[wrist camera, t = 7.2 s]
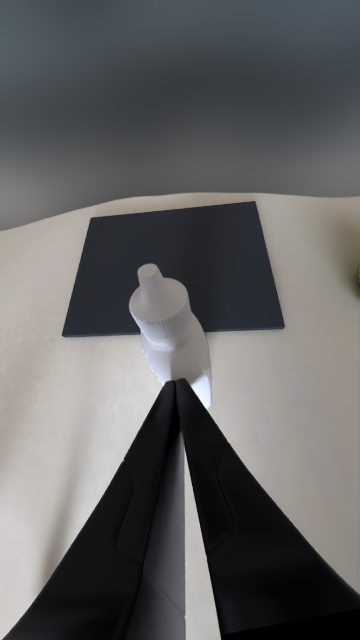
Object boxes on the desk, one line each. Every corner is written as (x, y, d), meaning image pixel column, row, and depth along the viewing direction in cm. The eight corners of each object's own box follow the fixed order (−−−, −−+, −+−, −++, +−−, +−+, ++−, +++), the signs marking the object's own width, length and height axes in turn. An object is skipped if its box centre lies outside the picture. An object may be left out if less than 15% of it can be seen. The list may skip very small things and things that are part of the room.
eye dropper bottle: (156, 410, 15) (46, 338, 5) (170, 347, 18) (118, 228, 8) (211, 419, 14) (205, 353, 4) (215, 351, 17) (218, 222, 7)
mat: (282, 329, 17) (285, 327, 17) (65, 337, 19) (61, 335, 19) (254, 205, 24) (255, 200, 23) (93, 221, 26) (90, 217, 25)
